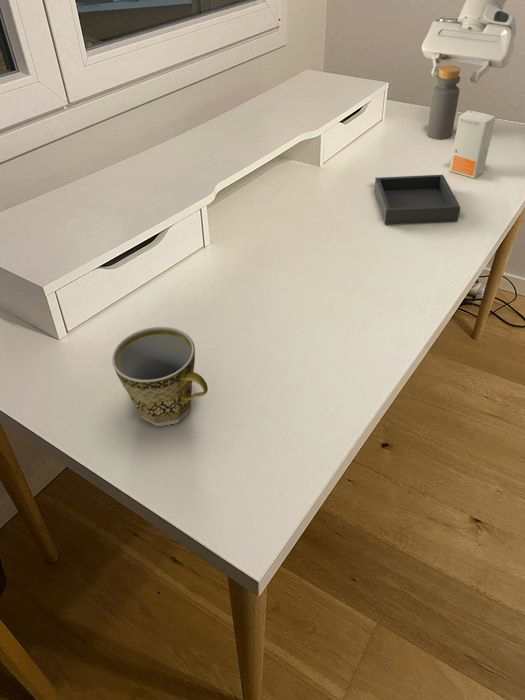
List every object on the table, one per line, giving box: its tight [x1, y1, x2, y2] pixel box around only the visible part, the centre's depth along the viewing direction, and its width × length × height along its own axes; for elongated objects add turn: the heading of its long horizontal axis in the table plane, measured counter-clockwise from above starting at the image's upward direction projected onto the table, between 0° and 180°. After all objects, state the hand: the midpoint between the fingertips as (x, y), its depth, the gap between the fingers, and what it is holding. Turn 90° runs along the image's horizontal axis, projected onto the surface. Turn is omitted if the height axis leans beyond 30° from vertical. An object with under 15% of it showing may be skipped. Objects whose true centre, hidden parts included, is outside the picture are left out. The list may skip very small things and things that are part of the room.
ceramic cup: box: [111, 326, 209, 427], centre depth 73 cm, size 13×10×10 cm
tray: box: [374, 174, 461, 226], centre depth 114 cm, size 14×14×3 cm
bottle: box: [426, 64, 462, 140], centre depth 135 cm, size 6×6×15 cm
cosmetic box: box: [449, 109, 496, 180], centre depth 121 cm, size 6×4×12 cm
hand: (453, 78), depth 135 cm, fingers open, 8 cm apart
